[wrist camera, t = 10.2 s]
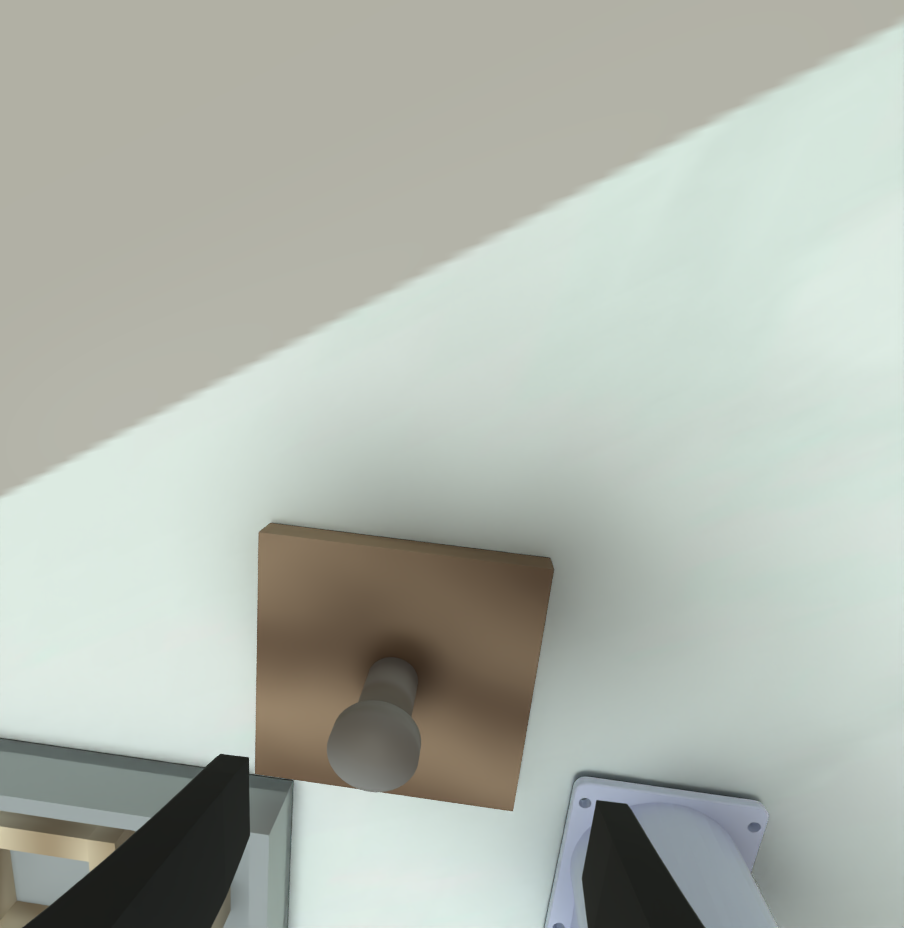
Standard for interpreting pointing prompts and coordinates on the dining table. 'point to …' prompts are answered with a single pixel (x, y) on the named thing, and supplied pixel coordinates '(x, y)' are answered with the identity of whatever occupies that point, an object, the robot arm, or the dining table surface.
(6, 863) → the wooden knob frame
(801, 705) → the dining table surface
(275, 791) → the grey rectangular frame
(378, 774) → the block
